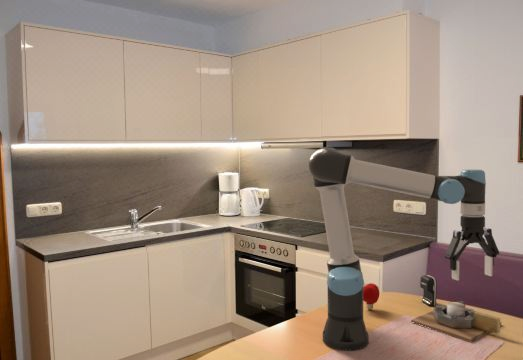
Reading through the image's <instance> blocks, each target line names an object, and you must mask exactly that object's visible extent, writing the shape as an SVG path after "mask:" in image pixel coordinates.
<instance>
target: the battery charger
mask: <svg viewBox="0 0 523 360" xmlns="http://www.w3.org/2000/svg"><path fill="white" fill-rule="evenodd" d="M419 283H420V284H419V287H420V288H422V289H423V296H422V298H421V303H423V304H425V305H427V306H429V307H436V305H437V291H438V290H437V289H438V288H437V287H438V286H437V279H436V278H435V277H434V276H432V275H429V274H426V275H421V276H420V282H419Z"/></svg>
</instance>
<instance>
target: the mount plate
mask: <svg viewBox="0 0 523 360" xmlns="http://www.w3.org/2000/svg"><path fill="white" fill-rule="evenodd" d="M446 305H447V315H450V316H451V314H452V313H456V314H457V317H465V308H466V301H463V300H459V301H456V302H455V301H450V302H447V304H446ZM411 322H414V323H417V324H420V325H423V326H426V327H429V328H431V329H430V330H432V329H434V330H433V331H435V330H437V331H436V332H438V331H439V333H441V332H442V333H441V334H444V333H445V335H447V334H448V335H447V336H450V335H451V336H450V337H453V336H454V337H453V338H456V339H459V340H462V341H466V342H468V343H472V342H474V341H476V340H477V339H479V338H480V337H482V336H484V335H486V334H488V333H490V332H489V331H485V330H482V329H479V328H476V327H472V328H452V327H449V326H446V325H443V324H440V323H438V322H437V321H436V320H435V318H434V309H433V310H431V311H428V312H426V313H424V314H422V315H420V316H417V317H415V318H412V319H411V321H410V323H411ZM414 323H413V324H414ZM417 324H416V325H417ZM420 325H419V326H420ZM423 326H422V327H423ZM501 326H502V322H501V321H500V327H501ZM426 327H425V328H426ZM429 328H428V329H429ZM473 340H474V341H473ZM471 341H472V342H471Z"/></svg>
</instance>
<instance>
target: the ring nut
mask: <svg viewBox="0 0 523 360" xmlns="http://www.w3.org/2000/svg"><path fill="white" fill-rule="evenodd" d="M433 310H434V318H435V320H436V321H437V322H438V323H440V324H443V325H446V326H449V327H452V328H472V327H476V328H479V329H482V330H485V331H489V332H488V333H493V334H496V335H498V334H500V333H501V326H500V322H501V317H499V316H498V317H497V316H494V315H491V314H488V313H485V312H480V311H477V310H474V309H472V308H468V307H465V317H457V314H456V313H452V314H451V316H450V315H447V304H446V305H445V304H444V305H443V304H442V305H437V304H436V306H435V308H433Z"/></svg>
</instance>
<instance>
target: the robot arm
mask: <svg viewBox="0 0 523 360" xmlns="http://www.w3.org/2000/svg"><path fill="white" fill-rule="evenodd" d="M308 170H309V172H310V174H311V176H312V179H313V185H314V189H316V191H318V192H319V196H320V203H321V208H322V214H323V220H324V221H323V222H324V226H325V232H326V233H325V234H326V238H327V245H328V246H327V247H328V251H329V252H328V253H329V258H327V260H326V265H327V271H328V273H327V278H326V285H327V318H326V321H325V325H324V328H323V331H322V342H323V343H324V345H326V346H327V347H330V348H332V349H335V350H341V351H356V350H357V351H358V350H361V349H364V348H366V347H367V346H369V343H370V337H369V336H370V335H369V333H368V331H367V328H366V324H365V319H364V301H363V287H364V286H365V285H364V284H365V281H364V276H363V271H362V269H361V262H360V257H359V256H358V255H356V254H355V252H354V245H353V244H354V243H353V237H352V232H351V227H350V220H349V213H348V208H347V201H346V194H345V189H344V188H345V186H346V185H348V184H350V183H352V184H355V185H356V184H357V185H362V186H366V187H367V186H368V187H372V188H376V189H380V190H381V189H382V190H387V191H391V192H395V193H401V194H405V195H410V196H415V197H421V198H426V199H430V200H433V201H439V202H442V203H444V204H450V205H454V204H457V203H460V210H459V211H460V212H459V214H461V216H460V221H459V223H460V227H461V230H460V231H459V230H453V231H452V237H451V240H450V242H449V245H448V247H447V250H446V253H445V254H444V258H445V259H447V260H449V263H450V264H449V265H450V266H449V267H450V270H451V279H452V280H453V281H454V280H455V281H457V282H458V281H460V260H459V258H460V256H461V255H462V254H463V252H464V251H465V249H466V247H467V246H469V245H470V244H478V245H479V246H480V248H481V249H482V250H483V252H484V253H485V254H486V255H484V275H485V276H489V277H493V267H494V263H495V262H494V260H495V258H496V257H497V256H498V255H499V254H500V251H499V248H498V246H497V243H496V241H495V239H494V236H493V231H492V230H493V229H492V228H489V227H486V216H485V215H486V187H487V186H486V185H487V181H486V172H485V171H484V170H482V169H462V170H461V171H460V174H459V175H435V174H434V175H433V174H429V173H425V172H424V173H423V172H420V171H414V170H409V169H404V168H400V167H393V166H389V165H384V164H379V163H375V162H370V161H364V160H361V159H360V160H359V159H355V157H354V156H353V155H350V154H346V153H343V152H340V150H339V149H337V148H334V147H331V146H326V147H325V146H324V147H321V148H319V149H316V150H315V151H314V152H313V153H312V154H311V156H310V158H309V160H308ZM483 236H484V237H483Z"/></svg>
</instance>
